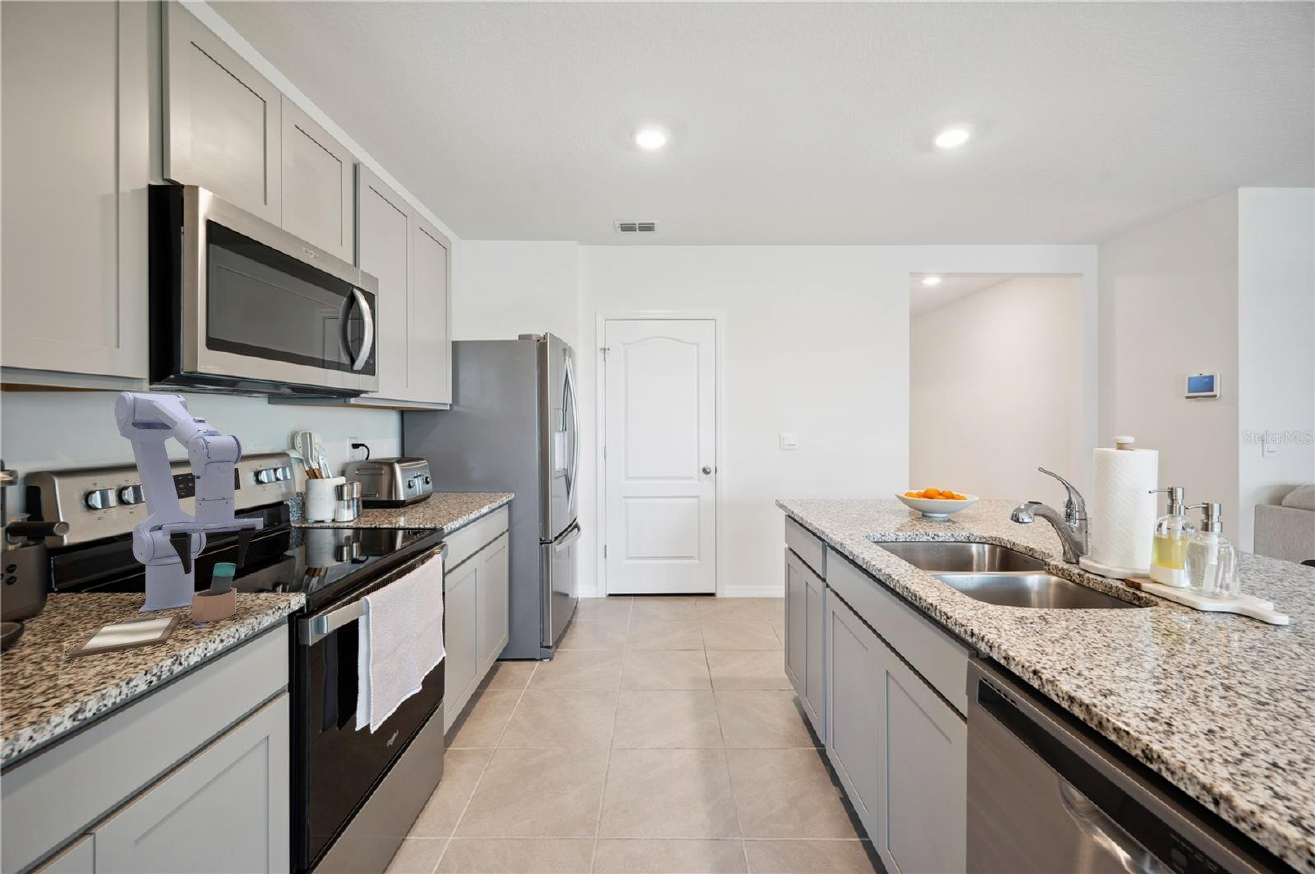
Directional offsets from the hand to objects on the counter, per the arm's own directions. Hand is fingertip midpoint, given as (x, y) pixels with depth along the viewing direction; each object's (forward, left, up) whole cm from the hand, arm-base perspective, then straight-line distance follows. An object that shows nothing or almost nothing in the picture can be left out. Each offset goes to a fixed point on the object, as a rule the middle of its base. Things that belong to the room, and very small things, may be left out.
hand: (214, 570), depth 100 cm
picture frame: (+5, -10, -9) cm, 15 cm away
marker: (0, 0, -8) cm, 8 cm away
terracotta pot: (0, 0, -9) cm, 9 cm away
